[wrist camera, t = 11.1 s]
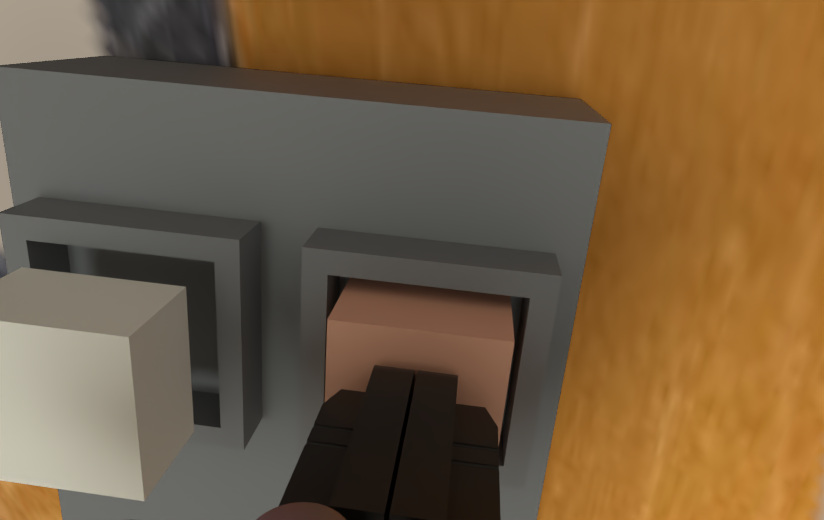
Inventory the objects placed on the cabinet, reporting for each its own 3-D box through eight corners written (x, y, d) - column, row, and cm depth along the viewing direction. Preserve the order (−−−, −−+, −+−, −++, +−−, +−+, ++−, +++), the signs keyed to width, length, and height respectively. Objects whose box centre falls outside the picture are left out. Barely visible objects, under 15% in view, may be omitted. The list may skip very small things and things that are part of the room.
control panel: (106, 56, 16) (-58, 70, 11) (581, 99, 15) (624, 134, 10) (158, 621, 23) (73, 778, 18) (483, 674, 22) (482, 853, 18)
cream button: (21, 267, 12) (-66, 312, 10) (185, 287, 12) (128, 337, 10) (44, 410, 13) (-30, 475, 11) (194, 431, 13) (144, 501, 11)
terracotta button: (350, 275, 13) (327, 319, 11) (510, 294, 12) (514, 341, 11) (344, 410, 14) (322, 470, 12) (490, 429, 14) (491, 494, 12)
